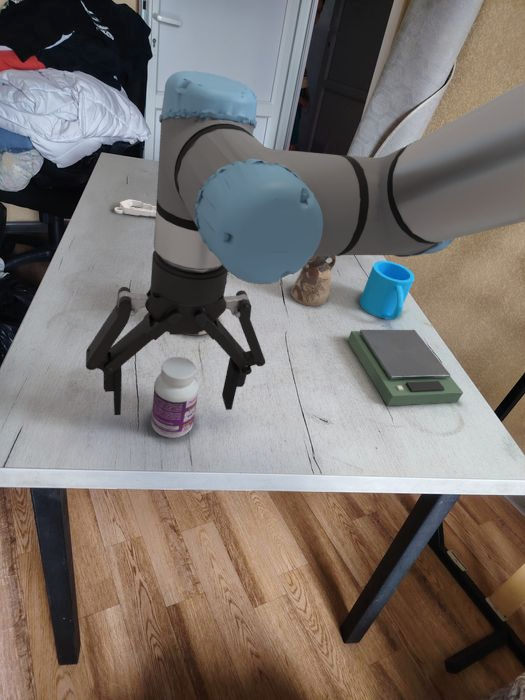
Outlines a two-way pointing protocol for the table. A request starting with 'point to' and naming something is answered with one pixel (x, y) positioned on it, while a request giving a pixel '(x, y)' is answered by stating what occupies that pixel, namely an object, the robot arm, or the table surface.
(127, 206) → the white flat elongated piece
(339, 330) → the table surface
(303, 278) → the figurine
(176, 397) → the pill bottle
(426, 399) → the scale
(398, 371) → the scale pan
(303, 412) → the table surface
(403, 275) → the mug
